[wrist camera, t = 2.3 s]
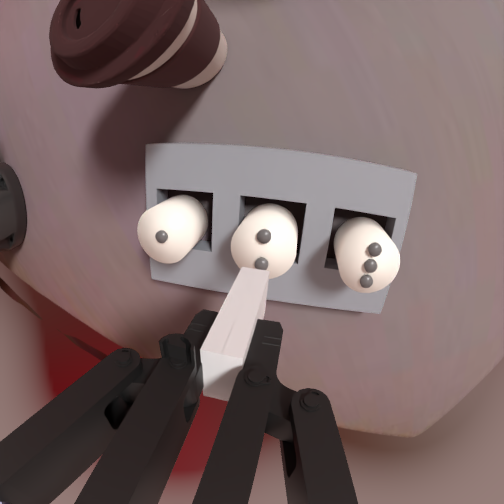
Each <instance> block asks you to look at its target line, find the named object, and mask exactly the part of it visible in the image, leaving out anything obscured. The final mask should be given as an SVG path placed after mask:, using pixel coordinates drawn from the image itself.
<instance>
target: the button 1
mask: <svg viewBox="0 0 504 504" xmlns="http://www.w3.org/2000/svg"><path fill="white" fill-rule="evenodd" d="M207 228H208V215H207V212H206V210H205V208H204V206H203V205H202V204H201V203H200V202H199V201H198V200H197V199H195V198H194V197H192V196H189V195H184V194H180V195H176V196H173V197H171V198H169V199H167V200H165V201H163V202H161V203H160V204H158V205H156V206H154V207H152V208H150V209H148V210H147V211H145V212H144V213H143V215H142V216H141V218H140V220H139V222H138V228H137V233H138V238H139V242H140V244H141V246H142V248H143V249H144V251H145V252H146V253H147V254H148V255H149V256H150V257H151V258H153V259H154V260H156V261H158V262H161V263H166V264H171V263H175V262H178V261H180V260H181V259H182V258H183V257H184V256H185V255H186V254H187V253H188V252H189V251H190V250H191V249H192V248H193V247H194V246H195V245H196V244H197V243H198V242H199V241H200V240H201V239H202V238H203V236H204V235H205V233H206V231H207Z"/></svg>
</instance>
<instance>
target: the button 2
mask: <svg viewBox="0 0 504 504" xmlns="http://www.w3.org/2000/svg"><path fill="white" fill-rule="evenodd" d="M297 238H298V226H297V222H296V220H295V218H294V216H293V215H292V213H291V212H290V211H289V210H287V209H286V208H284V207H283V206H281V205H278V204H273V203H266V204H261V205H258V206H256V207H255V208H253V209H252V210H251V211H250V212H249V213H248V214H247V216H246V217H245V218H244V220H243V221H242V223H241V224H240V225H239V227H238V228H237V230H236V231H235V233H234V235H233V237H232V240H231V253H232V257H233V259H234V261H235V263H236V264H237V266H238V267H239V268H240V269H241V268H242V267H247V268H253V269H260V270H266V271H270V273H269V279H272V278H276V277H279V276H281V275H283V274H284V273H285V272H287V271H288V270H289V269H290V267H291V266H292V265H293V263H294V260H295V257H296V250H297Z"/></svg>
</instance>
